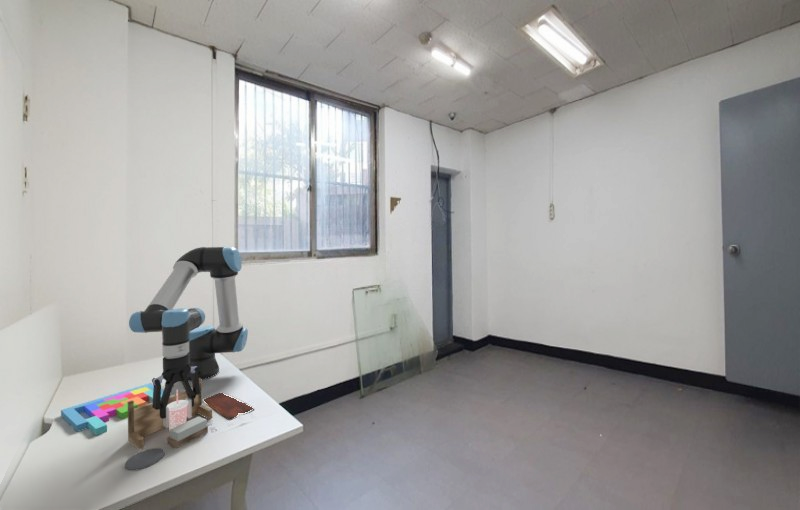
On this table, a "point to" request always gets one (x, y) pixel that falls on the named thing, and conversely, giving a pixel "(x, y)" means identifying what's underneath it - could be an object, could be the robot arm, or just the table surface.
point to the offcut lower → (176, 443)
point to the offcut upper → (188, 428)
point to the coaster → (144, 459)
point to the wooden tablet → (227, 405)
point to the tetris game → (107, 408)
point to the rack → (156, 417)
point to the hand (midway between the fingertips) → (177, 421)
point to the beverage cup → (177, 412)
